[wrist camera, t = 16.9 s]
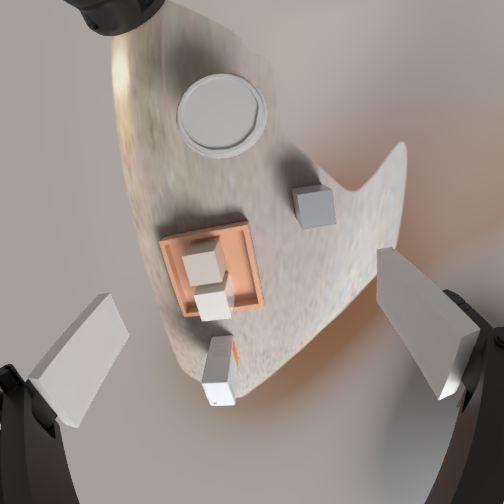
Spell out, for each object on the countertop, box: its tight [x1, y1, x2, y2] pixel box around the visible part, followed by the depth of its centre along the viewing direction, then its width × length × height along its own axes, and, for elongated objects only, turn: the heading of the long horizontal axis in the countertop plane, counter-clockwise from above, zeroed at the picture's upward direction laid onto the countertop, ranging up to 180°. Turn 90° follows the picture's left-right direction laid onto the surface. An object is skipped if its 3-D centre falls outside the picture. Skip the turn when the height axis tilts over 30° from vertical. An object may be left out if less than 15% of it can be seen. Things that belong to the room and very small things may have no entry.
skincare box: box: [201, 335, 239, 406], centre depth 43 cm, size 6×4×12 cm
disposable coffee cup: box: [176, 73, 267, 159], centre depth 30 cm, size 10×10×12 cm
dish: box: [159, 220, 264, 317], centre depth 42 cm, size 13×13×2 cm
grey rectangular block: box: [292, 184, 336, 229], centre depth 36 cm, size 4×4×6 cm
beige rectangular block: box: [182, 237, 227, 286], centre depth 39 cm, size 4×4×6 cm
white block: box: [194, 273, 235, 322], centre depth 41 cm, size 4×4×6 cm
